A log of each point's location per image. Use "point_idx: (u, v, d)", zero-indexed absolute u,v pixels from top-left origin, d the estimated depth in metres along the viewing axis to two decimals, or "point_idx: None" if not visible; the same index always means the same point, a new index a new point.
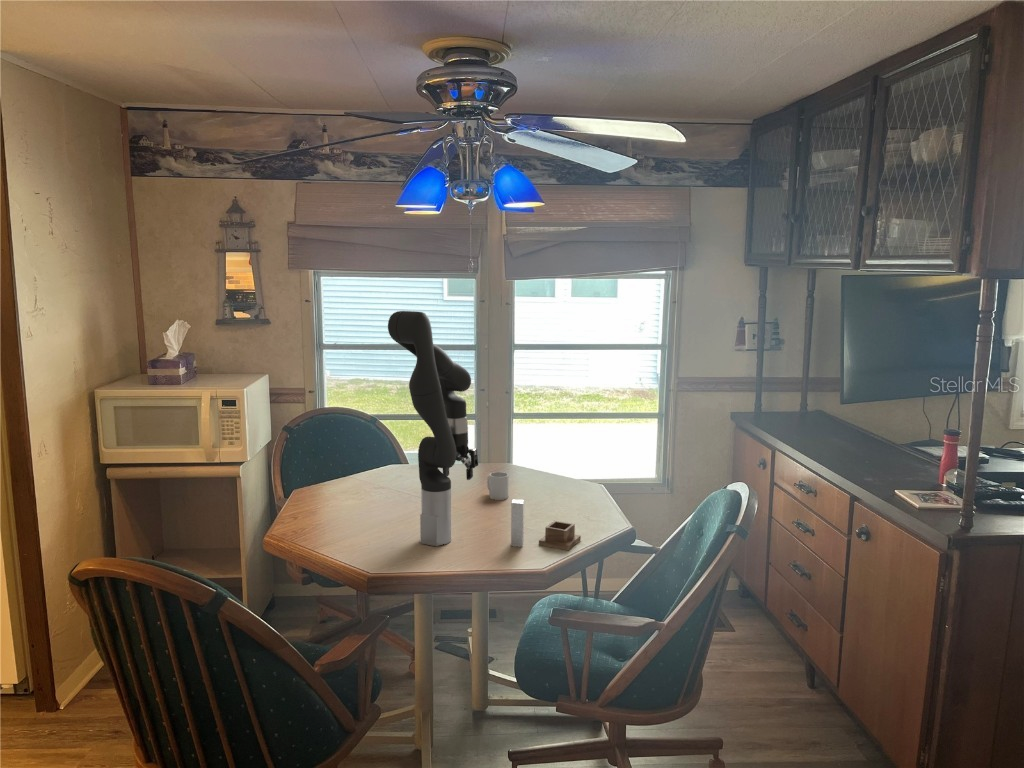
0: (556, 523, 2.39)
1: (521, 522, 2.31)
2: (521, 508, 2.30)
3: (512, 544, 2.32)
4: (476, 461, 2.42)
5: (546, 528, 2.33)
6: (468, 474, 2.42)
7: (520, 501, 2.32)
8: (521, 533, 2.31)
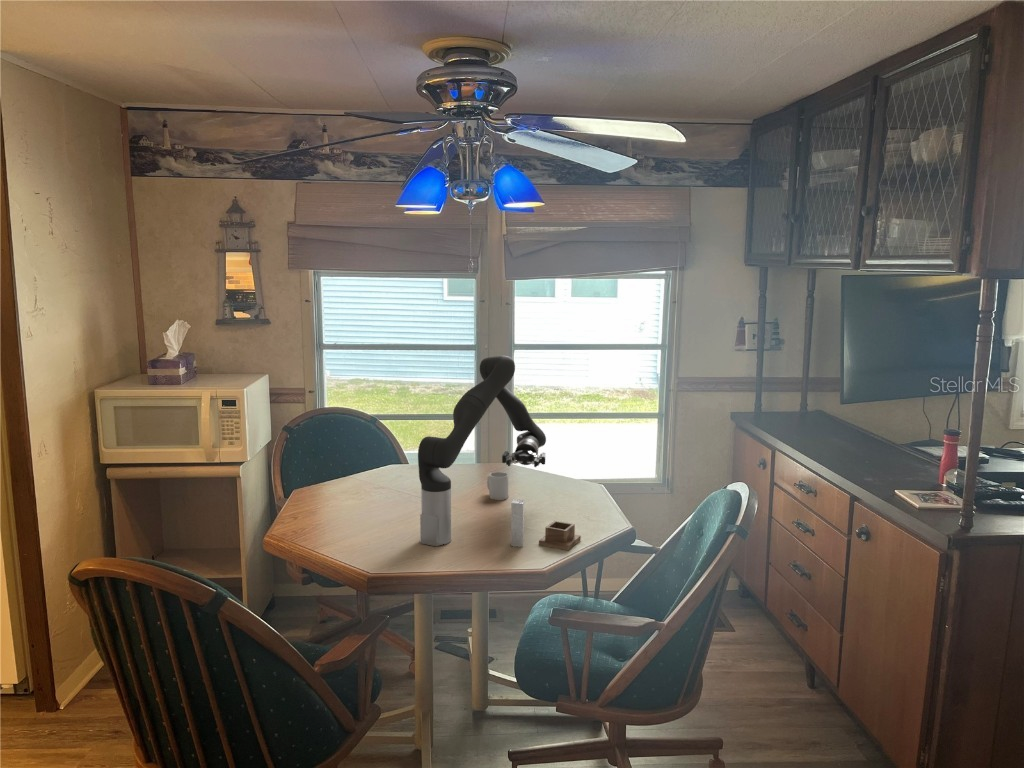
0: (556, 523, 2.39)
1: (521, 522, 2.31)
2: (521, 508, 2.30)
3: (512, 544, 2.32)
4: None
5: (546, 528, 2.33)
6: (536, 459, 2.42)
7: (520, 501, 2.32)
8: (521, 533, 2.31)
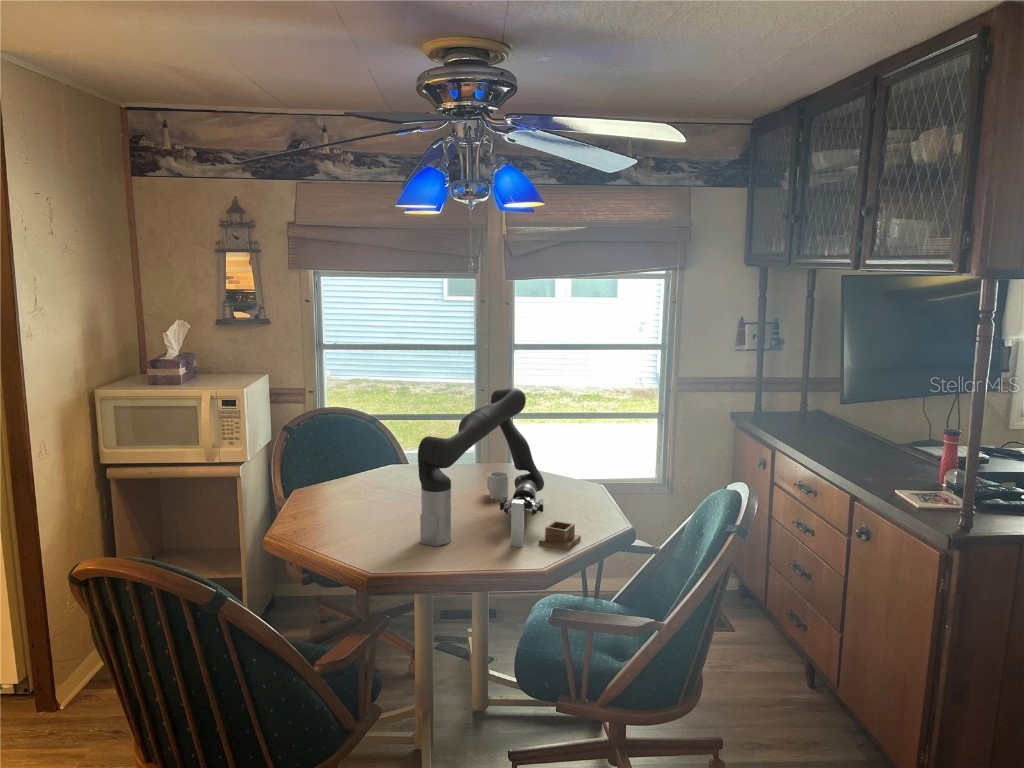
0: (556, 523, 2.39)
1: (521, 522, 2.31)
2: (521, 508, 2.30)
3: (512, 544, 2.32)
4: None
5: (546, 528, 2.33)
6: (534, 507, 2.40)
7: (520, 501, 2.32)
8: (521, 533, 2.31)
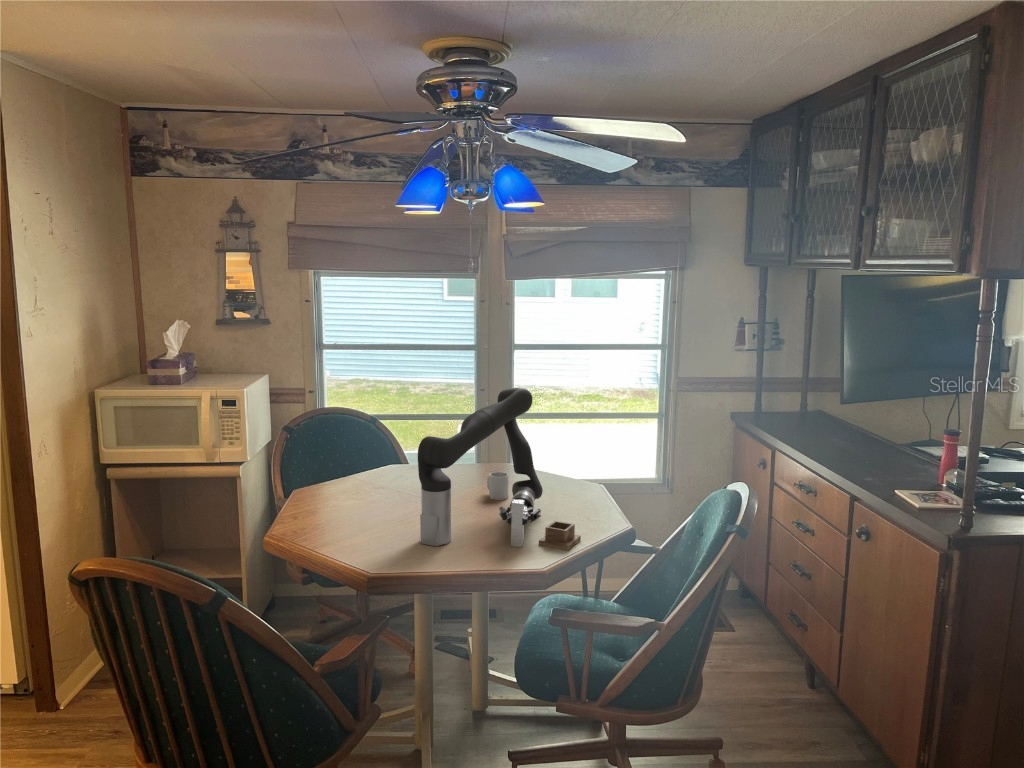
0: (556, 523, 2.39)
1: (521, 522, 2.31)
2: (521, 508, 2.30)
3: (512, 544, 2.32)
4: (534, 518, 2.35)
5: (546, 528, 2.33)
6: (525, 517, 2.31)
7: (520, 501, 2.32)
8: (521, 533, 2.31)
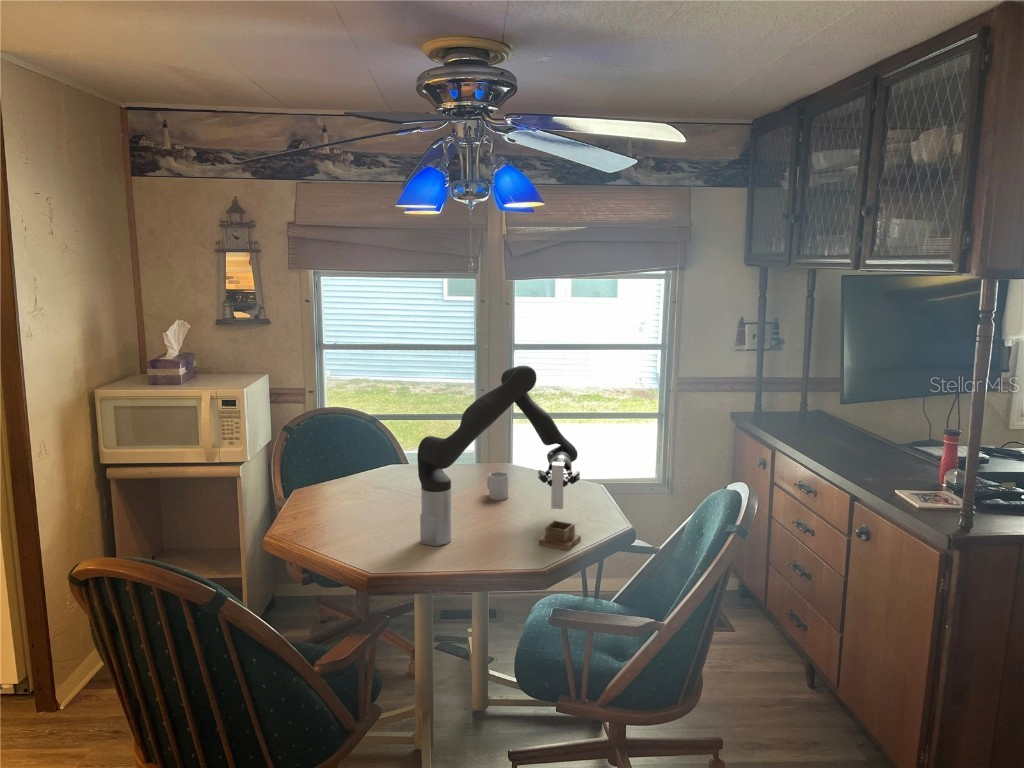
0: (556, 523, 2.39)
1: (562, 484, 2.31)
2: (562, 470, 2.30)
3: (553, 506, 2.33)
4: (574, 481, 2.36)
5: (546, 528, 2.33)
6: (565, 479, 2.32)
7: (560, 463, 2.32)
8: (561, 495, 2.32)
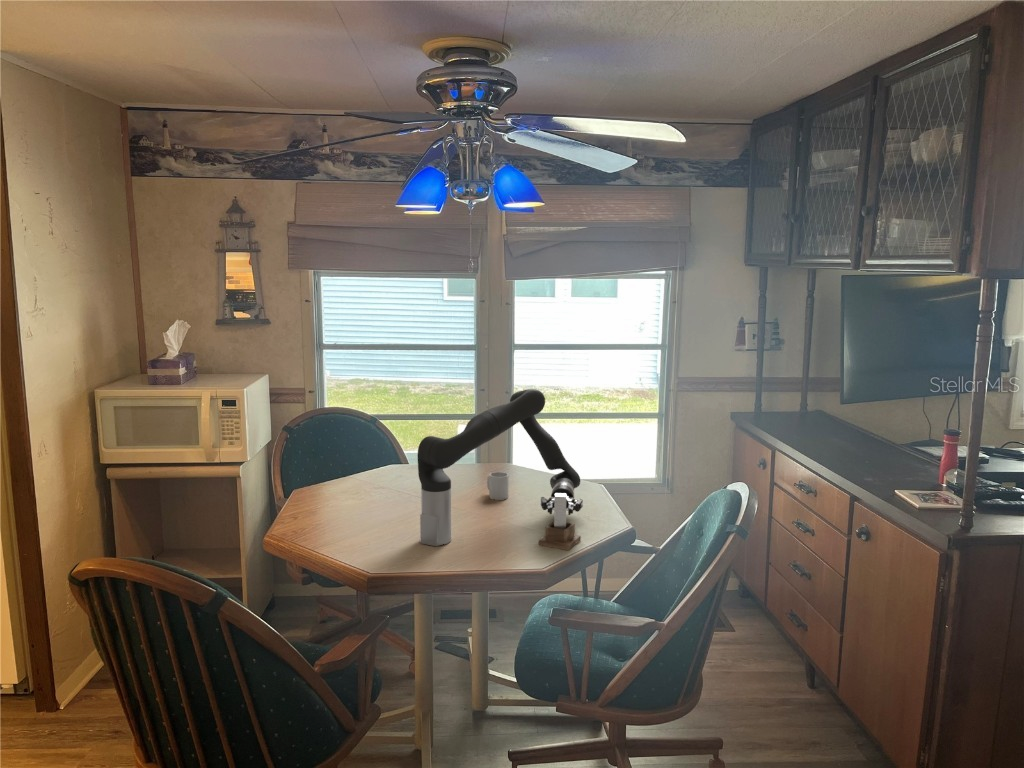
0: None
1: (564, 515, 2.33)
2: (564, 501, 2.32)
3: None
4: None
5: (546, 528, 2.33)
6: (570, 507, 2.33)
7: (563, 494, 2.34)
8: (564, 526, 2.33)
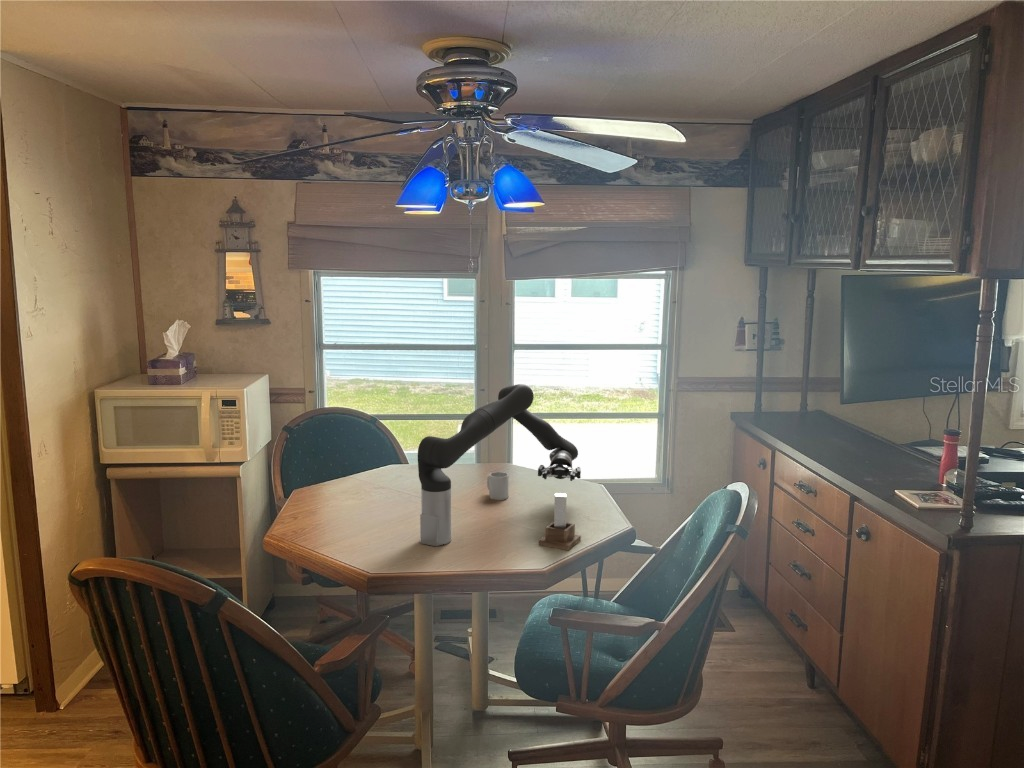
0: None
1: (564, 515, 2.33)
2: (564, 501, 2.32)
3: None
4: None
5: (546, 528, 2.33)
6: (572, 473, 2.46)
7: (563, 494, 2.34)
8: (564, 526, 2.33)
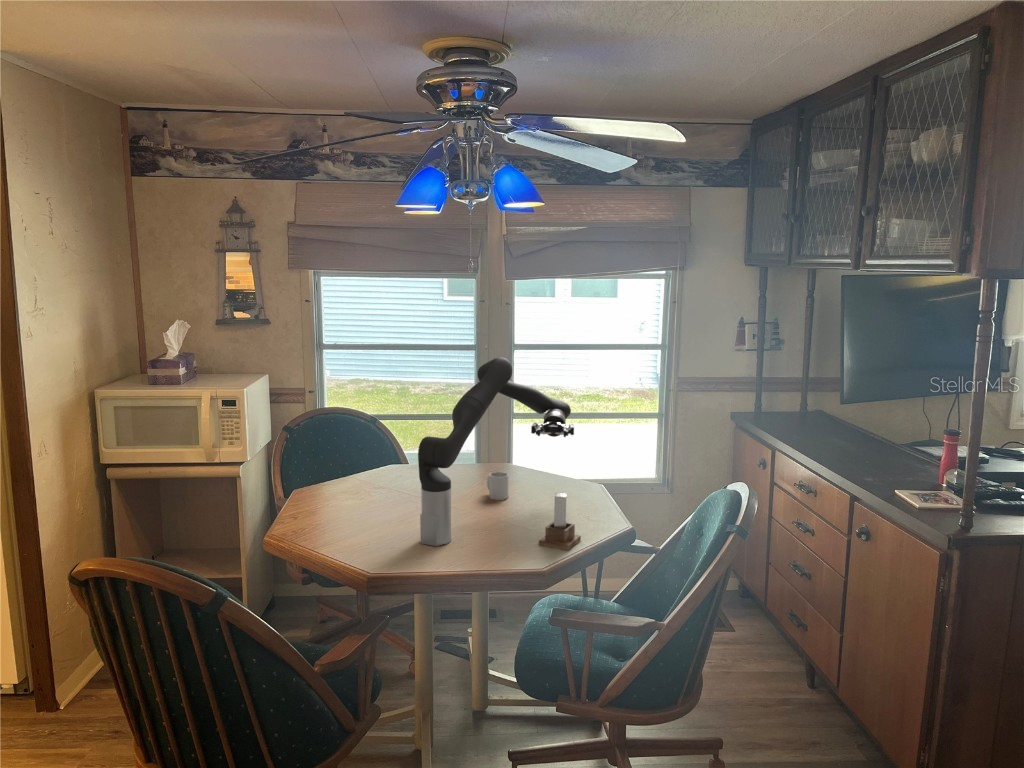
0: None
1: (564, 515, 2.33)
2: (564, 501, 2.32)
3: None
4: None
5: (546, 528, 2.33)
6: (566, 430, 2.46)
7: (563, 494, 2.34)
8: (564, 526, 2.33)
